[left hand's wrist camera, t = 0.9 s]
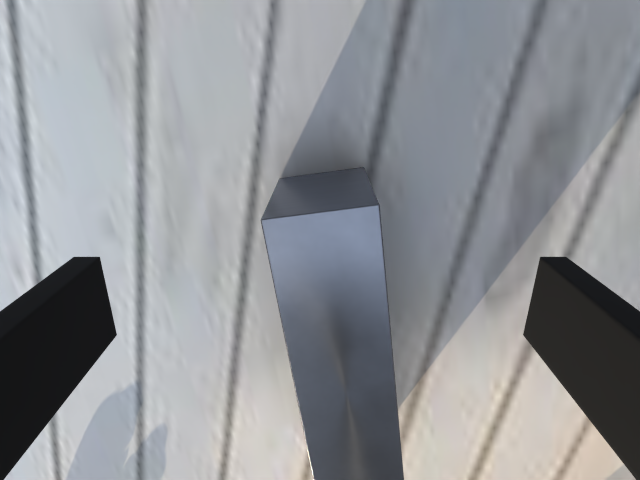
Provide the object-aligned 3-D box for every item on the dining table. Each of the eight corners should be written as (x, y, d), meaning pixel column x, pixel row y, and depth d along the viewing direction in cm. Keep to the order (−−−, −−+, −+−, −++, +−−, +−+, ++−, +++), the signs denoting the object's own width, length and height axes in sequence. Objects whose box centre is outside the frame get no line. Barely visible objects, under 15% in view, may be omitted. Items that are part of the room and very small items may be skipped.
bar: (279, 178, 29) (260, 219, 21) (363, 167, 28) (379, 204, 20) (323, 427, 37) (322, 526, 29) (389, 421, 37) (407, 520, 29)
